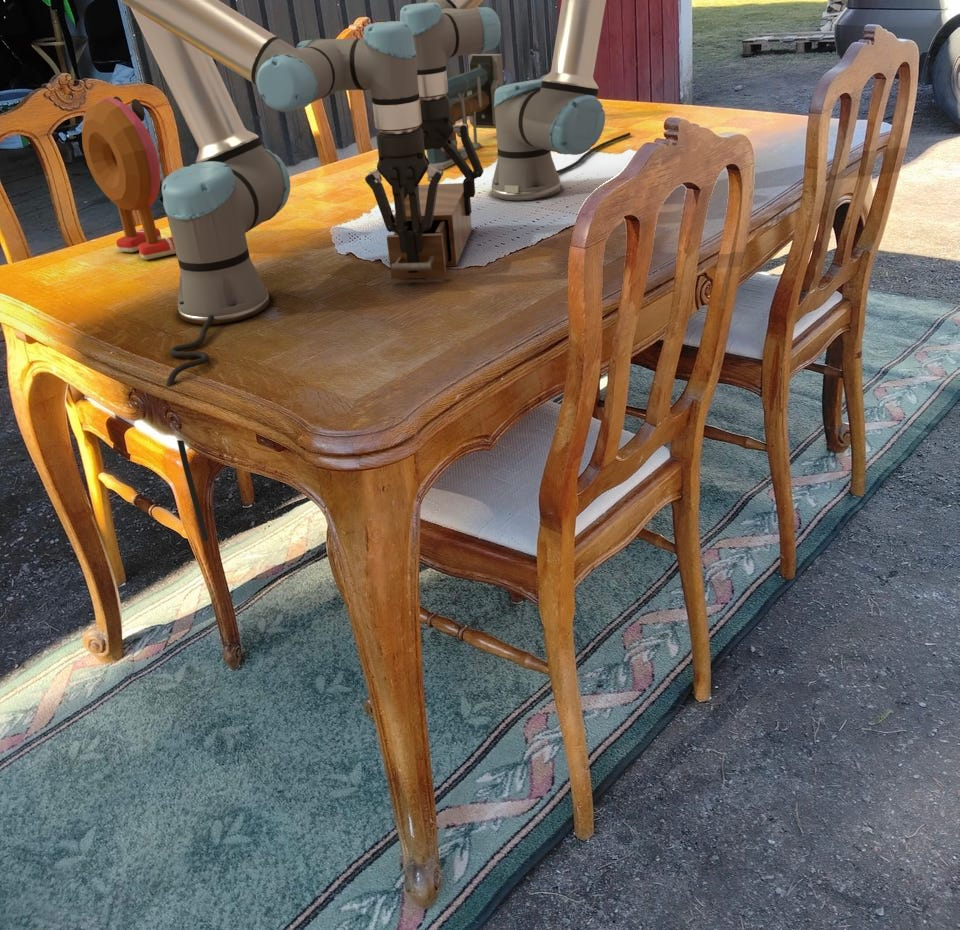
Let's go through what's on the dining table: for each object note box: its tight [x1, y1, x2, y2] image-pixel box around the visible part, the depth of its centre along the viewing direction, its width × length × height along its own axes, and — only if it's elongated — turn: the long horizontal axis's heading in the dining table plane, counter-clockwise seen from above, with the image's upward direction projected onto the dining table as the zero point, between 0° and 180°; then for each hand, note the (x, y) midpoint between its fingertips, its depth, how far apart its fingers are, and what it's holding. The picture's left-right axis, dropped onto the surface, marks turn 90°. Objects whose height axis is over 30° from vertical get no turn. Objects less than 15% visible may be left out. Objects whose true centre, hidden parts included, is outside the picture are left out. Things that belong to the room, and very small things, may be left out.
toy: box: [81, 95, 177, 260], centre depth 191 cm, size 21×10×30 cm, turn 47°
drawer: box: [386, 220, 451, 280], centre depth 174 cm, size 25×10×8 cm, turn 173°
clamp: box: [425, 53, 505, 171], centre depth 247 cm, size 35×9×21 cm, turn 151°
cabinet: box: [393, 182, 473, 267], centre depth 184 cm, size 21×11×9 cm, turn 173°
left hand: (414, 270), depth 166 cm, fingers closed
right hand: (439, 215), depth 189 cm, fingers closed on cabinet, 11 cm apart
